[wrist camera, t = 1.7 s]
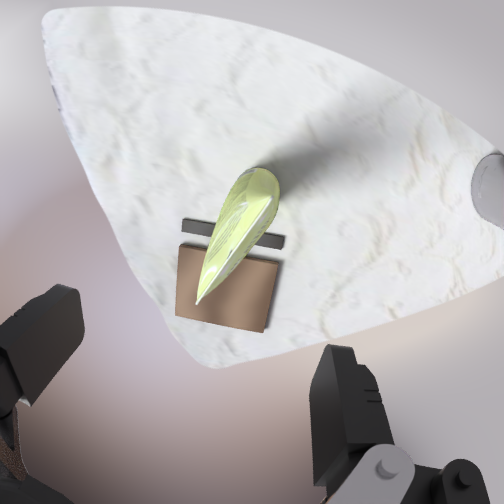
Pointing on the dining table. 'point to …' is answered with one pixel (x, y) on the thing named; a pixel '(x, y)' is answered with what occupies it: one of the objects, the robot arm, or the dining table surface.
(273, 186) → the tube
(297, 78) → the dining table surface
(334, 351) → the robot arm
